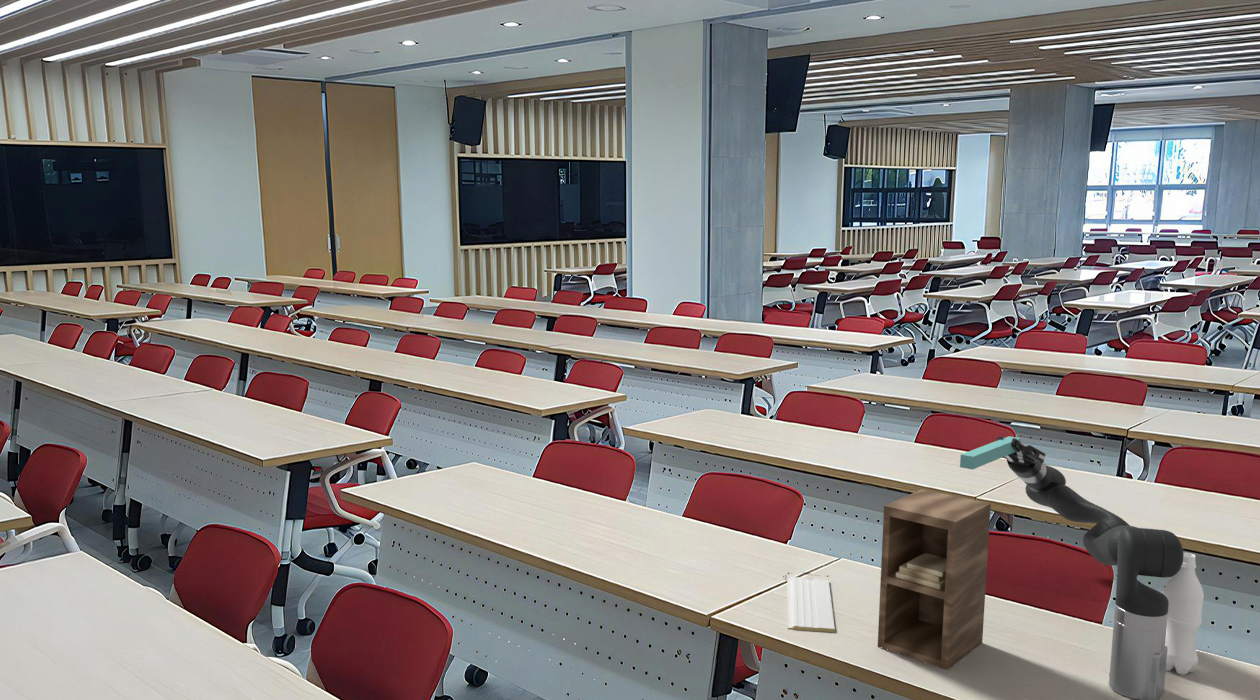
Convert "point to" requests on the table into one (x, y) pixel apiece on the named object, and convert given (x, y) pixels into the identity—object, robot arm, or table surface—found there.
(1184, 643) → the water bottle
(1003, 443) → the rectangular block
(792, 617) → the baseboard molding
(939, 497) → the rack
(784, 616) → the table surface
